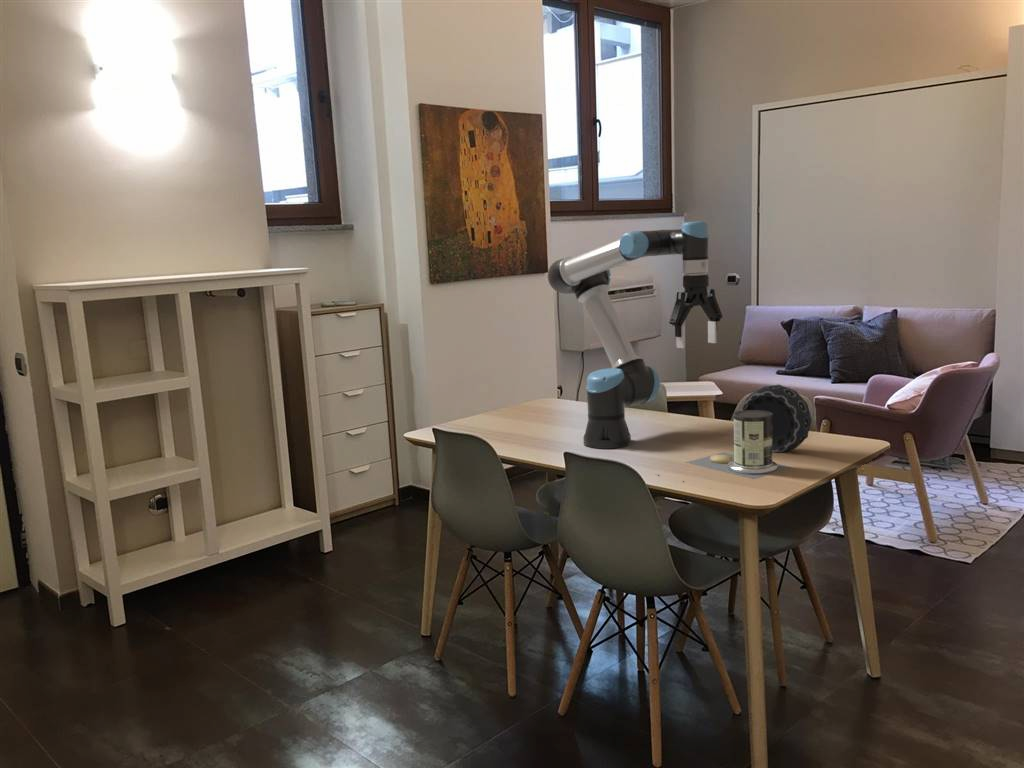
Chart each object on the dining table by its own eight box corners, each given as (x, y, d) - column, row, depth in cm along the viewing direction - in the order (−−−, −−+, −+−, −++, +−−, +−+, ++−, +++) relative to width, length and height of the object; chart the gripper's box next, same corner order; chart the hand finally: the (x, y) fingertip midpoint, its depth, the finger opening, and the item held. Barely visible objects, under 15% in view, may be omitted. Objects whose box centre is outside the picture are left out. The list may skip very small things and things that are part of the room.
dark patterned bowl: (750, 445, 269) (750, 380, 266) (815, 452, 256) (815, 385, 253) (735, 452, 261) (734, 386, 258) (801, 461, 248) (801, 391, 245)
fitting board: (685, 467, 247) (685, 458, 247) (724, 457, 256) (724, 448, 256) (753, 484, 228) (753, 475, 228) (792, 472, 237) (792, 463, 237)
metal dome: (717, 468, 240) (717, 464, 239) (749, 459, 247) (749, 456, 247) (755, 477, 229) (755, 473, 229) (787, 468, 236) (787, 464, 236)
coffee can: (760, 457, 244) (760, 408, 242) (780, 466, 234) (780, 415, 232) (726, 461, 242) (726, 411, 239) (745, 471, 232) (744, 418, 229)
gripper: (674, 277, 250) (676, 350, 253) (733, 271, 264) (734, 341, 267) (656, 277, 256) (657, 349, 259) (714, 271, 270) (715, 340, 273)
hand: (696, 345), depth 263 cm, fingers open, 13 cm apart
